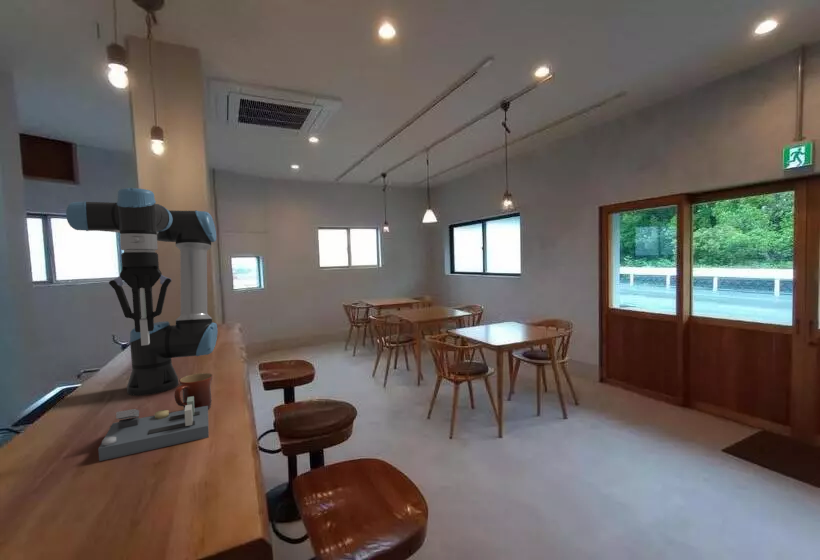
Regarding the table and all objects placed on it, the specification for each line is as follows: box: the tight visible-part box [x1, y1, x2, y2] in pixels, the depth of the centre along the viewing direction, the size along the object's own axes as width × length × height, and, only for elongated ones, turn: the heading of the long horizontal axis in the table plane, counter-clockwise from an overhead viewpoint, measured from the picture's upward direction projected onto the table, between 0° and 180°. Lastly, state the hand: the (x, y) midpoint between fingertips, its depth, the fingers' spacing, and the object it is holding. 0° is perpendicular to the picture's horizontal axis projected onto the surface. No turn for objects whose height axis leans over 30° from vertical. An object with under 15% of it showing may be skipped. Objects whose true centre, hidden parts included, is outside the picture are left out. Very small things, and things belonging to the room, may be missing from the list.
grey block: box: [187, 396, 195, 415], centre depth 101 cm, size 4×2×4 cm, turn 29°
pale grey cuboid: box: [185, 404, 193, 426], centre depth 96 cm, size 4×2×4 cm, turn 29°
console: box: [97, 406, 210, 462], centre depth 96 cm, size 15×22×4 cm
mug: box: [174, 372, 213, 411], centre depth 110 cm, size 12×9×10 cm
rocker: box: [115, 408, 140, 420], centre depth 96 cm, size 8×4×2 cm, turn 29°
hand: (145, 344), depth 94 cm, fingers closed
